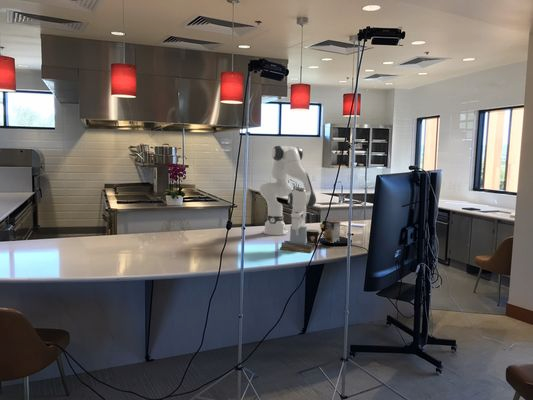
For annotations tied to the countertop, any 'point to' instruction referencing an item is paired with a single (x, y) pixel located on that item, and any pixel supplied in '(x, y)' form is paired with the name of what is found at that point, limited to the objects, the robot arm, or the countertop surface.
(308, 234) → the coffee mug
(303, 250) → the brown flat box
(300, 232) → the grey rectangular block
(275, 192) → the robot arm
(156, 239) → the countertop surface
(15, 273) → the countertop surface
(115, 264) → the countertop surface
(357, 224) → the countertop surface
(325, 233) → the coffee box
